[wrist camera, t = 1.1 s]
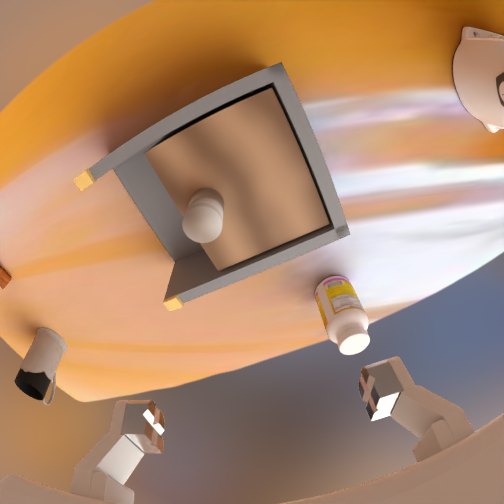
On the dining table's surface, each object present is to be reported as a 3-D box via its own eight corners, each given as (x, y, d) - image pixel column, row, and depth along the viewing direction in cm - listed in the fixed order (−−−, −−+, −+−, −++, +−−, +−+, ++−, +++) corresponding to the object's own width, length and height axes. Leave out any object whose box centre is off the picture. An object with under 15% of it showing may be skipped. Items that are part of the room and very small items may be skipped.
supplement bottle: (333, 308, 52) (353, 363, 41) (306, 295, 50) (322, 353, 39) (358, 283, 49) (384, 336, 38) (331, 267, 47) (355, 323, 36)
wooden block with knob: (264, 88, 31) (279, 87, 20) (313, 197, 39) (343, 246, 28) (162, 139, 34) (127, 166, 23) (221, 238, 42) (216, 298, 31)
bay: (269, 68, 31) (281, 61, 22) (327, 201, 41) (352, 237, 32) (109, 155, 36) (73, 179, 27) (181, 265, 46) (170, 311, 36)
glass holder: (60, 330, 53) (35, 383, 40) (78, 368, 61) (61, 417, 48) (32, 324, 52) (5, 372, 40) (51, 362, 60) (33, 407, 47)
